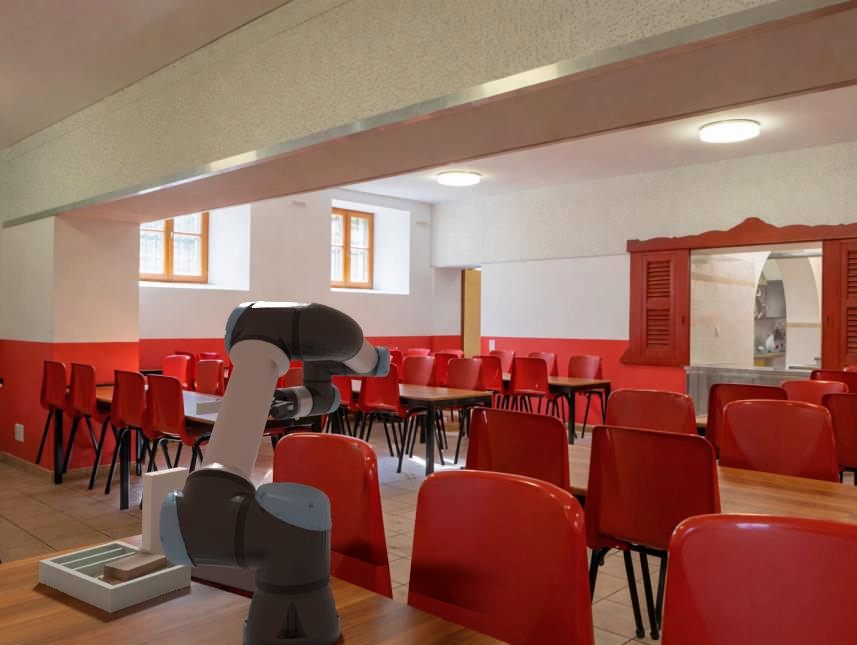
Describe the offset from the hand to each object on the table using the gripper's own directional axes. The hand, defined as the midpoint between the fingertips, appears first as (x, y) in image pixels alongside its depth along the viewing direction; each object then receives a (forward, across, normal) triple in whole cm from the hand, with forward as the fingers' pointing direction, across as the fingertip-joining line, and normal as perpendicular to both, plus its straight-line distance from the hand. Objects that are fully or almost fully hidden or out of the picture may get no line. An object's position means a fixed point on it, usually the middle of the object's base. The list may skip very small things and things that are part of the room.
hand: (217, 411), depth 156 cm
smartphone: (+9, -16, -31) cm, 36 cm away
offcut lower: (+25, -9, -28) cm, 39 cm away
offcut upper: (+24, -8, -26) cm, 37 cm away
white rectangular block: (+10, +4, -30) cm, 32 cm away
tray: (+25, -2, -30) cm, 39 cm away
